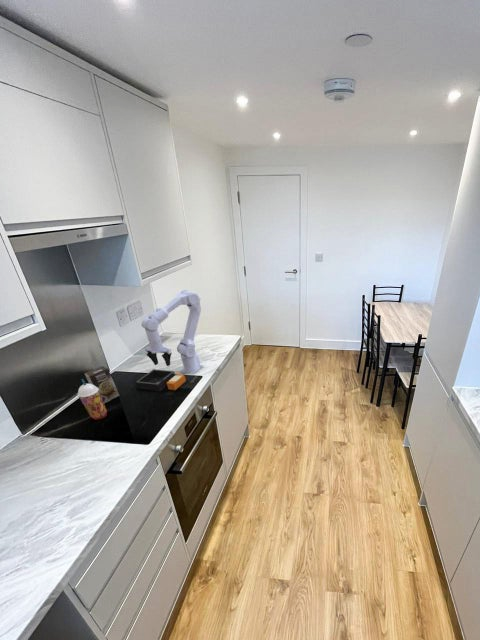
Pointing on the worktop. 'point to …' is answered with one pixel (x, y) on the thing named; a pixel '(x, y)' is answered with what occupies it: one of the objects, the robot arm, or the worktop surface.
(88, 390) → the smoothie
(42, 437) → the worktop surface
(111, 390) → the coffee box
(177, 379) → the snack box
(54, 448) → the worktop surface
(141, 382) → the dark grey tray
